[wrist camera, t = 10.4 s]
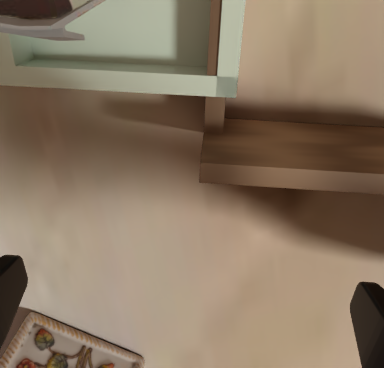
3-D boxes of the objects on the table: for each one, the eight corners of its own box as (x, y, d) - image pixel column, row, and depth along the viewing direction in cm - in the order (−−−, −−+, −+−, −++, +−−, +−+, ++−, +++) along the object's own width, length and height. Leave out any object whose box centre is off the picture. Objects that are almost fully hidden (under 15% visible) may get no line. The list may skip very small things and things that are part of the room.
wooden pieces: (572, -153, 14) (782, -233, 9) (443, 146, 20) (518, 203, 15) (220, -160, 14) (220, -238, 9) (204, 133, 21) (199, 182, 16)
